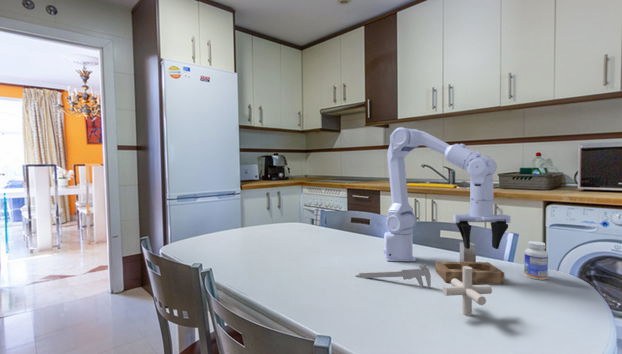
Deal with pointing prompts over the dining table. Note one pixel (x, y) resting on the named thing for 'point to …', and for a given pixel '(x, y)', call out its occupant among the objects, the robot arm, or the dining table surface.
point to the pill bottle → (536, 261)
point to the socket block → (480, 272)
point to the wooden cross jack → (467, 291)
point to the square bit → (467, 253)
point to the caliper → (401, 274)
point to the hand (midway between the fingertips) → (481, 247)
